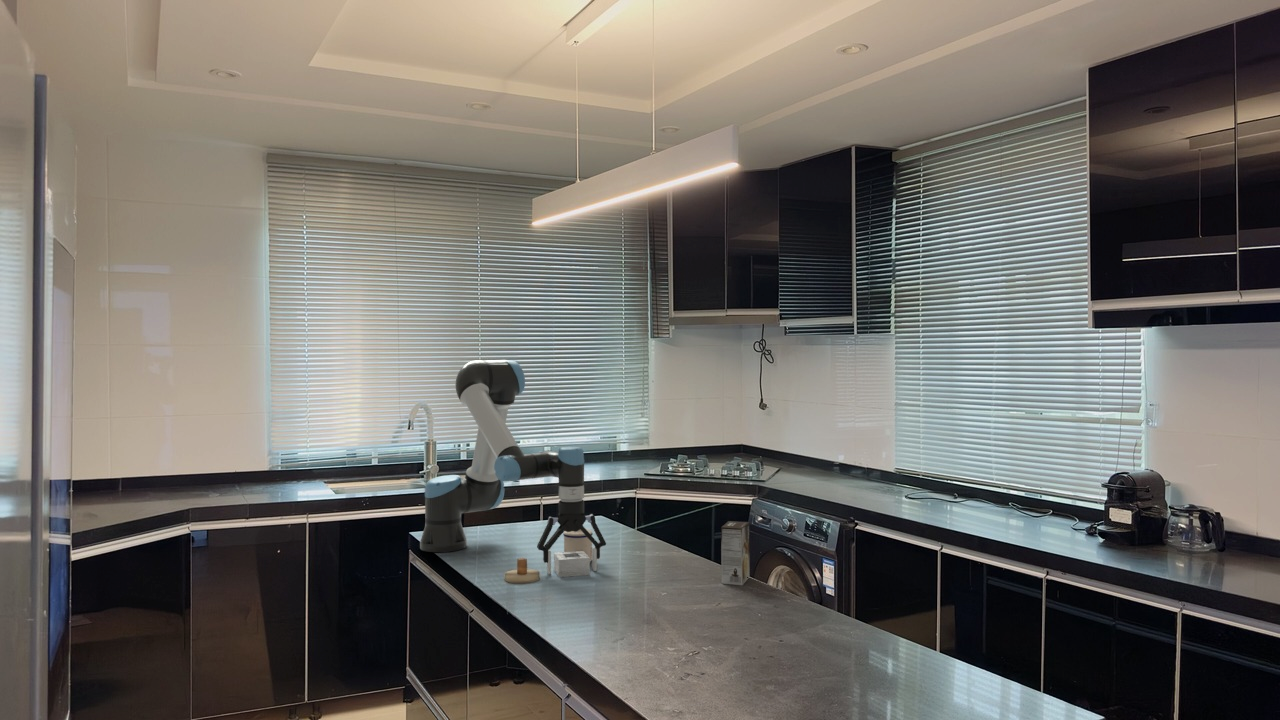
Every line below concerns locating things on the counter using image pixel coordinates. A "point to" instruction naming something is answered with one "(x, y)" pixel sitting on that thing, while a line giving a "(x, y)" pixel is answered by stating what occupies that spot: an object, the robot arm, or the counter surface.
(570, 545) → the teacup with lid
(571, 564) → the white boxy piece
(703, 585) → the counter surface
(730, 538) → the coffee box
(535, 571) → the hub
